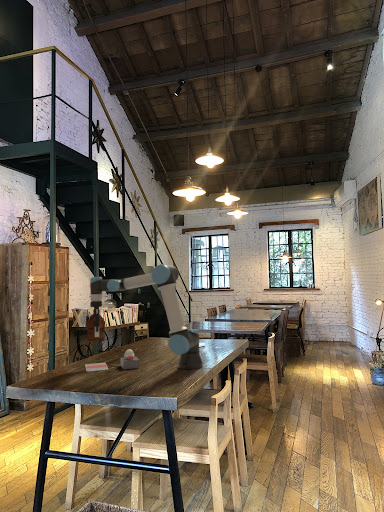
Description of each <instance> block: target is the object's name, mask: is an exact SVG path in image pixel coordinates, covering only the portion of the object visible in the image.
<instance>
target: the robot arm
mask: <svg viewBox="0 0 384 512" xmlns="http://www.w3.org/2000/svg"><path fill="white" fill-rule="evenodd" d="M179 275H180V274H179V270H178V269H177V267H175V265H172V264H164V263H163V264H158V265H156V266H155V267H153V269H152V271H151V272H149V273H145V274H140V275H135V276H132V277H131V276H130V277H126V278H121V279H112V278H111V279H103V277H102V276H92V277H90V280H89V281H90V282H89V288H90V294H89V298H90V302H89V304H90V308H94V309H92V314H94V316H95V325H94V327H95V337H99V314H100V312H101V311H100V309H99V308H101V307H102V308H103V292H122V291H126V290H132V289H136V288H140V287H147V286H151V285H155V284H156V287H157V290H159V291H160V294H161V297H162V302H163V305H164V309H165V312H166V317H167V321H168V324H169V325H168V326H169V330H170V331H169V332H168V336H169V339H168V348H169V350H170V351H171V352H172V353H173V354H176V355H180V357H179V360H178V363H177V364H178V365H177V368H179V369H182V370H196V369H200V368H203V366H204V365H203V360H202V357H201V354H200V332H199V330H198V329H196V328H195V329H191V328H190V329H189V328H188V327H187V326H186V325H185V322H184V318H183V315H182V310H181V308H180V303H179V300H178V295H177V292H176V285H177V282H176V281H177V280H178V279H179Z"/></svg>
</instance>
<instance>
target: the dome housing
mask: <svg viewBox="0 0 384 512" xmlns="http://www.w3.org/2000/svg"><path fill="white" fill-rule="evenodd" d="M120 367H121V369H122V370H130V369H132V370H133V369H139V368H140V358H138V357H137V356H134V358H133V356H128V359H124V357H120Z"/></svg>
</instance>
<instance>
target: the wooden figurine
mask: <svg viewBox="0 0 384 512" xmlns="http://www.w3.org/2000/svg"><path fill="white" fill-rule="evenodd" d="M94 325H95V316H94V314H93V313H92V314H91V315H89V318H88V319H87V321H86V327H87V330H86V331H87V332H86V336H87V338H86V339H87V343H88V344H89V343H91V344H92V343H93V344H95V343H100V342H104V341H105V333H104V332H105V330H106V324H105V319H104V317H103V316H102V315H101V314H100V313H99V337H95V327H94Z"/></svg>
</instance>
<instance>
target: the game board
mask: <svg viewBox="0 0 384 512" xmlns="http://www.w3.org/2000/svg"><path fill="white" fill-rule="evenodd" d="M84 365H85V370H86V371H85V372H94V371H96V372H97V371H105V370H109V368H108V366H107V364H106V362H99V363H98V362H97V363H96V362H95V363H87V364H84Z"/></svg>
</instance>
